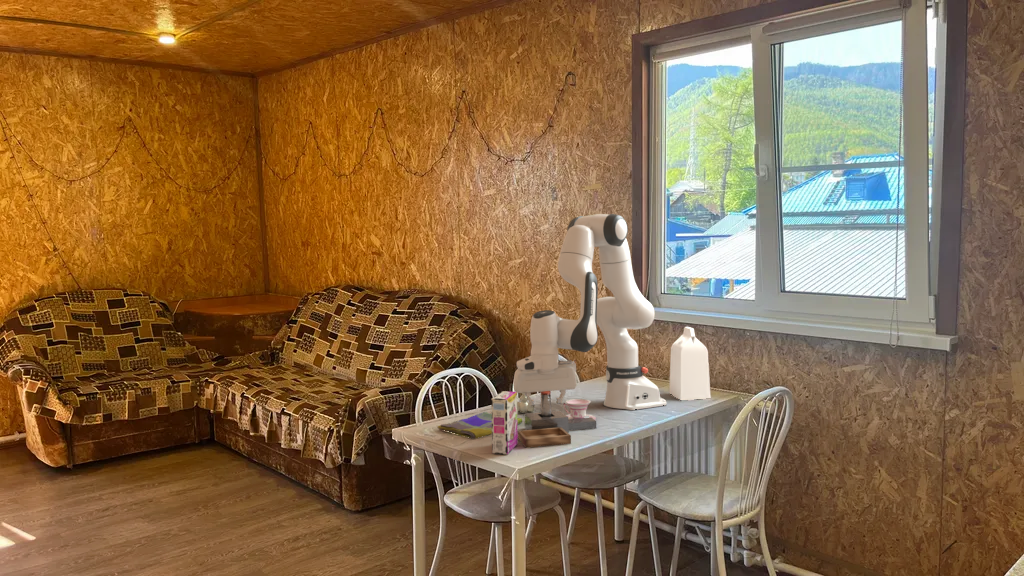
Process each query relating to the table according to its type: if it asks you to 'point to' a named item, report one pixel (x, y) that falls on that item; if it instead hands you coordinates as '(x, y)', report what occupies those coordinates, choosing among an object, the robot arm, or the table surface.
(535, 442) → the tray
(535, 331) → the robot arm
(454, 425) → the dish towel
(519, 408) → the valve
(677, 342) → the milk
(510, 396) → the candy bar box
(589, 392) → the table surface
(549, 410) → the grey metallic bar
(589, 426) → the hitch block
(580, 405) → the teacup
